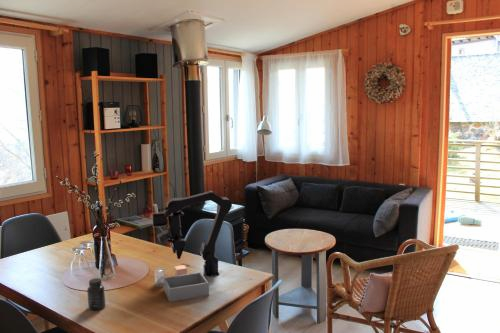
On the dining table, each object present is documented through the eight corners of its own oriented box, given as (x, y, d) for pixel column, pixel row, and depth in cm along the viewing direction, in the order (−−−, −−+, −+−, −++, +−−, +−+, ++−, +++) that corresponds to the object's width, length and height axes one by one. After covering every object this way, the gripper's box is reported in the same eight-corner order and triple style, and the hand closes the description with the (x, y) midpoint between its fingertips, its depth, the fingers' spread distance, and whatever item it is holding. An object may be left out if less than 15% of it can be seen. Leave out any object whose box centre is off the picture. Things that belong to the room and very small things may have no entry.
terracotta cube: (184, 274, 221) (184, 264, 220) (187, 278, 216) (186, 268, 215) (174, 275, 219) (174, 266, 218) (177, 279, 214) (176, 269, 213)
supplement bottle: (90, 304, 188) (89, 277, 187) (107, 303, 189) (105, 276, 187) (86, 311, 182) (84, 284, 180) (103, 310, 182) (101, 283, 181)
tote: (200, 283, 209) (200, 272, 208) (209, 295, 196) (208, 282, 195) (163, 289, 202) (163, 277, 201) (169, 302, 190) (169, 289, 189)
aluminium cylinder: (164, 281, 212) (164, 267, 211) (166, 285, 207) (166, 271, 206) (154, 283, 210) (153, 268, 209) (155, 287, 206) (155, 272, 205)
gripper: (154, 222, 218) (156, 252, 220) (161, 232, 201) (163, 265, 203) (176, 219, 222) (178, 249, 224) (185, 228, 205) (187, 261, 207)
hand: (176, 255), depth 215 cm, fingers open, 9 cm apart
